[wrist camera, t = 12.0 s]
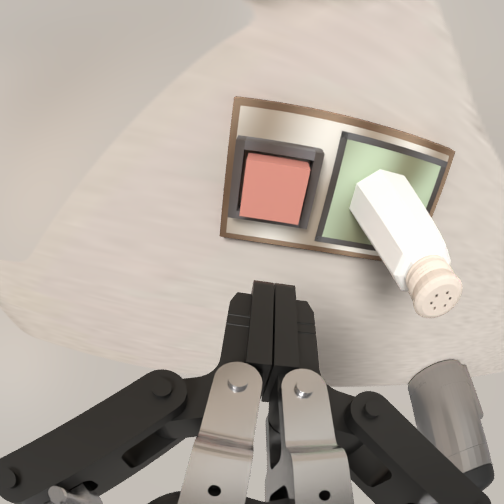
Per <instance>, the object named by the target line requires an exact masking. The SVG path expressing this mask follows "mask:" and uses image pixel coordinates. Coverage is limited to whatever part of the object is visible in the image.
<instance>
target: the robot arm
mask: <svg viewBox="0 0 504 504" xmlns="http://www.w3.org/2000/svg"><path fill="white" fill-rule="evenodd" d="M314 325H315V321H314V312H313V311H312V309H311V307H310V306H309V304H308V302H307V301H300V300H296V292H295V286H293V285H285V284H278V283H275V284H274V283H270V282H263V281H256V280H254V282H253V287H252V293H251V294H246V293H239V292H237V294H236V295H235V296H234V297H233V299H232V300H231V301H230V305H229V311H228V316H227V322H226V328H225V334H224V340H223V346H222V352H221V358H220V362H219V364H218V366H217V367H216V368H215V369H214V370H213V371H212V372H210V373H209V374H207V375H204V376H201V377H195V378H186V379H182V378H181V377H180V376H179V375H177V374H176V373H174V372H172V371H169V370H155V371H152V372H150V373H148V374H146V375H144V376H143V377H141V378H140V379H138V380H137V381H135V382H133V383H132V384H130V385H129V386H127V387H125V388H124V389H122V390H120V391H119V392H117V393H115V394H114V395H112V396H110V397H109V398H107V399H105V400H104V401H102V402H100V403H99V404H97V405H95V406H94V407H92V408H90V409H89V410H87V411H85V412H84V413H82V414H80V415H79V416H77V417H75V418H74V419H72V420H70V421H68V422H66V423H65V424H63V425H61V426H59V427H58V428H56V429H54V430H53V431H51V432H49V433H47V434H45V435H43V436H42V437H40V438H38V439H36V440H34V441H33V442H31V443H29V444H27V445H25V446H23V447H21V448H20V449H18V450H16V451H14V452H12V453H10V454H8V455H7V456H4V457H3V458H1V459H0V496H1V497H2V498H4V499H5V500H7V501H9V502H12V503H14V504H103V503H102V501H101V499H100V497H99V496H100V495H102V494H103V493H105V492H107V491H108V490H110V489H111V488H113V487H115V486H116V485H118V484H119V483H121V482H123V481H124V480H126V479H127V478H129V477H130V476H132V475H134V474H135V473H137V472H138V471H140V470H141V469H143V468H144V467H146V466H147V465H149V464H150V463H151V462H153V461H154V460H155V459H157V458H159V457H160V456H161V455H163V454H164V453H166V452H167V451H169V450H170V449H171V448H173V447H174V446H175V445H177V444H178V443H179V442H181V441H182V440H184V439H185V438H187V437H195V436H197V437H196V439H195V442H194V445H193V448H192V452H191V456H190V459H189V463H188V467H187V471H186V474H185V478H184V482H183V486H182V489H181V491H178V492H173V493H169V494H166V495H163V496H161V497H158V498H157V499H155V500H153V501H151V502H150V503H148V504H354V500H353V493H352V486H351V480H352V481H353V482H354V483H355V484H356V485H357V486H358V487H359V488H360V489H361V490H362V491H363V492H364V493H365V494H366V495H367V496H368V497H369V498H370V499H371V500H372V501H373V502H374V503H375V504H491V502H490V499H489V498H488V496H486V494H484V493H483V492H482V491H483V490H484V489H485V488H486V487H488V486H489V485H490V484H491V483H492V481H493V479H494V470H493V466H492V464H491V463H492V462H491V458H490V453H489V450H488V445H487V442H486V438H485V434H484V431H483V427H482V424H481V420H480V419H482V417H483V411H482V408H481V405H480V403H479V399H478V397H477V394H476V391H475V388H474V385H473V382H472V380H471V377H470V374H469V372H468V369H467V366H466V365H462V364H461V363H460V362H459V361H457V360H446V361H442V362H439V363H436V364H434V365H431V366H429V367H428V368H426V369H424V370H422V371H421V372H420V373H418V374H417V375H416V376H415V377H414V378H413V379H412V380H411V381H410V383H409V385H408V390H409V394H410V399H411V402H412V407H413V412H414V416H415V421H416V425H417V429H416V428H415V427H414V426H413V425H412V424H411V423H410V422H409V421H408V420H407V419H406V418H405V417H404V416H403V415H402V414H401V413H400V412H399V411H398V410H397V409H396V408H395V407H394V406H393V405H392V404H390V402H389V401H388V400H387V399H386V398H384V397H383V396H382V395H380V394H378V393H376V392H371V391H366V392H362V393H360V394H358V395H357V396H356V397H354V396H351V395H348V394H345V393H342V392H339V391H336V390H334V389H333V388H331V387H330V386H328V385H327V384H326V383H325V381H324V379H323V378H322V377H321V375H320V371H319V362H318V351H317V341H316V336H315V334H316V331H315V326H314ZM261 396H262V401H263V402H269V413H268V416H267V418H266V447H267V475H266V479H265V502H261V501H258V500H255V499H251V498H248V497H246V494H247V489H248V483H249V477H250V471H251V465H252V459H253V441H254V435H255V428H256V422H257V416H258V409H259V403H260V399H261Z"/></svg>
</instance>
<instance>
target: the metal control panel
mask: <svg viewBox="0 0 504 504" xmlns="http://www.w3.org/2000/svg"><path fill="white" fill-rule="evenodd" d="M248 153H255V154H262V155H269V156H275V157H281V158H287V159H293V160H299V161H304V162H308V164H309V167H310V175H309V179H308V184H307V188H306V193H305V197H304V201H303V206H302V210H301V214H300V219H299V223H298V225H296V224H290V223H283V222H277V221H271V220H264V219H257V218H251V217H244V216H239V215H240V207H241V199H242V191H243V183H244V176H245V168H246V160H247V157H248ZM454 154H455V151H453V150H452V149H450V148H448V147H445V146H443V145H440V144H437V143H435V142H432V141H429V140H426V139H424V138H421V137H418V136H415V135H412V134H409V133H406V132H403V131H399V130H396V129H393V128H390V127H386V126H383V125H379V124H376V123H372V122H369V121H365V120H361V119H357V118H353V117H349V116H345V115H341V114H337V113H333V112H328V111H323V110H319V109H314V108H309V107H304V106H298V105H293V104H287V103H281V102H275V101H268V100H261V99H254V98H246V97H237V96H236V97H234V103H233V111H232V120H231V128H230V137H229V146H228V155H227V164H226V174H225V184H224V194H223V205H222V215H221V227H220V236H221V237H228V238H235V239H241V240H248V241H255V242H262V243H268V244H275V245H282V246H288V247H295V248H301V249H308V250H315V251H321V252H328V253H334V254H340V255H347V256H353V257H359V258H366V259H372V260H378V261H382V259H381V258H380V256H379V254H378V253H377V251H376V250H375V248H374V247H373V245H372V244H371V242H370V240H369V239H368V237H367V236H366V234H365V233H364V231H363V230H362V228H361V227H360V225H359V223H358V222H357V220H356V219H355V217H354V215H353V214H352V212H351V210H350V209H349V207H350V204H351V201H352V197H353V194H354V190H355V187H356V183H358V182H360V181H361V180H363V179H364V178H366V177H368V176H369V175H371V174H373V173H374V172H376V171H378V170H379V169H381V170H385V171H389V172H393V173H397V174H400V175H404V176H405V177H406V179H407V180H408V182H409V183H410V185H411V186H412V188H413V189H414V191H415V193H416V194H417V196H418V197H419V199H420V200H421V202H422V204H423V205H424V207H425V208H426V210H427V212H428V213H429V215H430V217H431V218H432V215H433V213H434V210H435V208H436V205H437V202H438V200H439V197H440V195H441V192H442V189H443V186H444V184H445V181H446V178H447V175H448V172H449V169H450V166H451V163H452V160H453V157H454Z"/></svg>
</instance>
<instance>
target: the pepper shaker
mask: <svg viewBox="0 0 504 504" xmlns="http://www.w3.org/2000/svg"><path fill="white" fill-rule="evenodd" d="M349 209H350V210H351V212H352V214H353V215H354V217H355V219H356V220H357V222H358V223H359V225H360V227H361V228H362V230H363V231H364V233H365V234H366V236H367V237H368V239H369V240H370V242H371V244H372V245H373V247H374V248H375V250H376V251H377V253H378V254H379V256H380V258H381V259H382V261H383V262H384V264H385V266H386V267H387V269H388V270H389V272H390V274H391V275H392V277H393V279H394V280H395V282H396V284H397V285H398V286H399V288H400V289H401V291H409V294H410V296H411V298H412V300H413V306H414V309H415V311H416V313H417V314H418V315H420V316H422V317H425V318H435V317H438V316H441V315H443V314H445V313H447V312H448V311H450V310H451V309H452V308H453V307H454V306H455V305H456V304H457V302H458V301H459V299H460V297H461V294H462V287H463V286H462V282H461V280H460V279H459V278H458V276H457V275H455V274H454V271H453V270H452V268H451V267H450V266H449V265H450V264H451V260H450V256H449V253H448V250H447V247H446V244H445V242H444V240H443V238H442V236H441V234H440V232H439V230H438V229H437V227H436V225H435V223H434V222H433V220H432V218H431V217H430V215H429V213H428V212H427V210H426V208H425V207H424V205H423V204H422V202H421V200H420V199H419V197H418V196H417V194H416V193H415V191H414V189H413V188H412V186H411V185H410V183H409V182H408V180H407V179H406V177H405V176H404V175H400V174H397V173H393V172H389V171H385V170H381V169H379V170H378V171H376V172H374V173H373V174H371V175H369V176H368V177H366V178H364V179H363V180H361V181H360V182H358V183H356V187H355V190H354V194H353V197H352V201H351V204H350V207H349Z"/></svg>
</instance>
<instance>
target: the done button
mask: <svg viewBox="0 0 504 504" xmlns="http://www.w3.org/2000/svg"><path fill="white" fill-rule="evenodd" d="M309 175H310V167H309V164H308V162H304V161H299V160H293V159H287V158H281V157H275V156H269V155H262V154H255V153H248V157H247V160H246V168H245V176H244V183H243V191H242V199H241V207H240V215H239V216H244V217H251V218H257V219H264V220H271V221H277V222H283V223H290V224H296V225H298V223H299V219H300V214H301V210H302V206H303V201H304V197H305V193H306V188H307V184H308V179H309Z"/></svg>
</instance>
